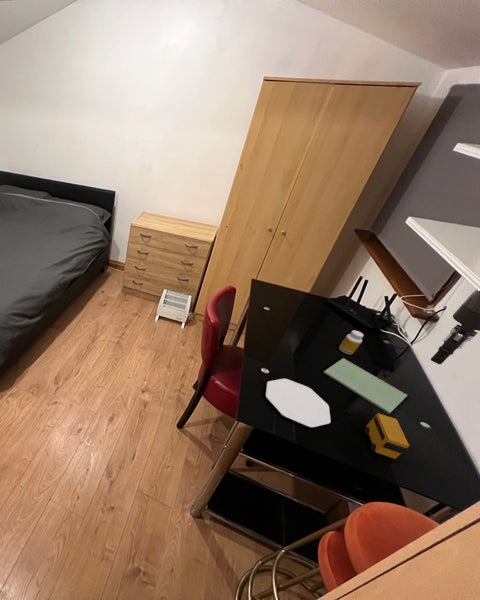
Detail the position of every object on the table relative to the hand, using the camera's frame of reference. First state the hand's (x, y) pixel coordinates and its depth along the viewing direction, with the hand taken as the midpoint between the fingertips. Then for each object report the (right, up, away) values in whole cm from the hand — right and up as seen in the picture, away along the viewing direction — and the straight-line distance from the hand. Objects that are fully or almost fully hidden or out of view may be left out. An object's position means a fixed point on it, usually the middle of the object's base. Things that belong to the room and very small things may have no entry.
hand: (440, 357), depth 88 cm
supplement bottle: (+17, -7, +52) cm, 55 cm away
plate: (-23, -21, +25) cm, 40 cm away
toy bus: (-5, -30, +13) cm, 33 cm away
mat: (+10, -17, +35) cm, 40 cm away
